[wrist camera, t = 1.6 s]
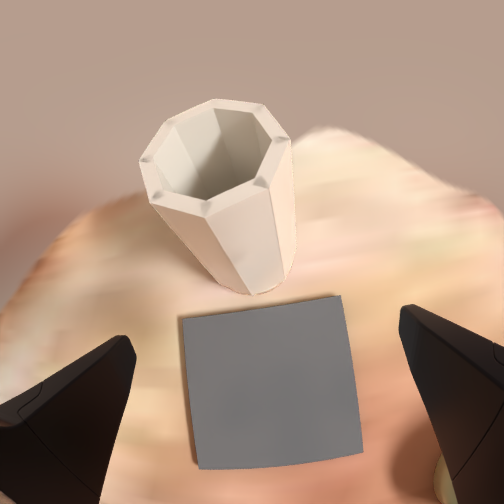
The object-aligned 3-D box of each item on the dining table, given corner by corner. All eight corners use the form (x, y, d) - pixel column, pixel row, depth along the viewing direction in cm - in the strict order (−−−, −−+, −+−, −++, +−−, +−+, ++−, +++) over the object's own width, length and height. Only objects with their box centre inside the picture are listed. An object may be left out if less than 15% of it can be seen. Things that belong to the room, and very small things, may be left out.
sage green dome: (445, 524, 13) (463, 541, 9) (419, 456, 17) (439, 469, 13) (521, 462, 13) (545, 469, 10) (501, 391, 17) (528, 391, 13)
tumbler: (231, 308, 23) (160, 240, 11) (203, 240, 26) (132, 137, 14) (307, 273, 23) (312, 169, 12) (272, 207, 26) (248, 85, 14)
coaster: (361, 450, 18) (363, 452, 17) (201, 467, 19) (198, 469, 18) (339, 297, 22) (340, 295, 22) (185, 320, 23) (182, 318, 23)
